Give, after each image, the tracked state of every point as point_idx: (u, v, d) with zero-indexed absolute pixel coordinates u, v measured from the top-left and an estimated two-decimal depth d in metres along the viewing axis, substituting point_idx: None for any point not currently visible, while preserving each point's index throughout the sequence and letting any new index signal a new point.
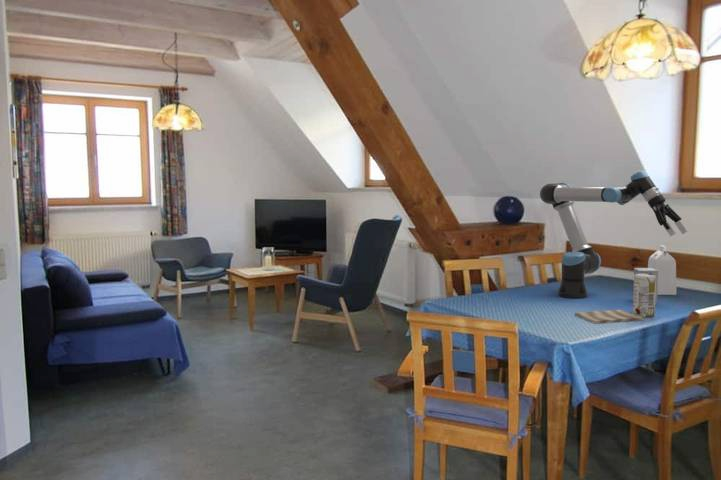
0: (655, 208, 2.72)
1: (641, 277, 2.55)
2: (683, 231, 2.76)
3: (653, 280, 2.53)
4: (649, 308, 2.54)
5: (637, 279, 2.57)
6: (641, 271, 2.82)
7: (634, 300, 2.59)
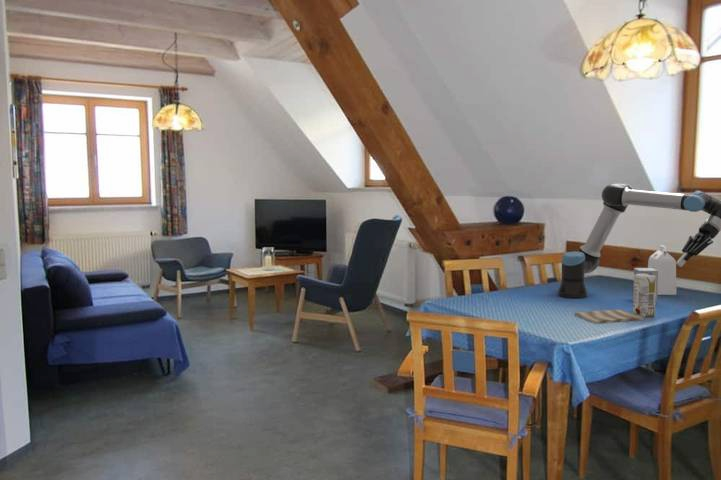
0: (709, 242, 2.54)
1: (641, 277, 2.55)
2: None
3: (653, 280, 2.53)
4: (649, 308, 2.54)
5: (637, 279, 2.57)
6: (641, 271, 2.82)
7: (634, 300, 2.59)
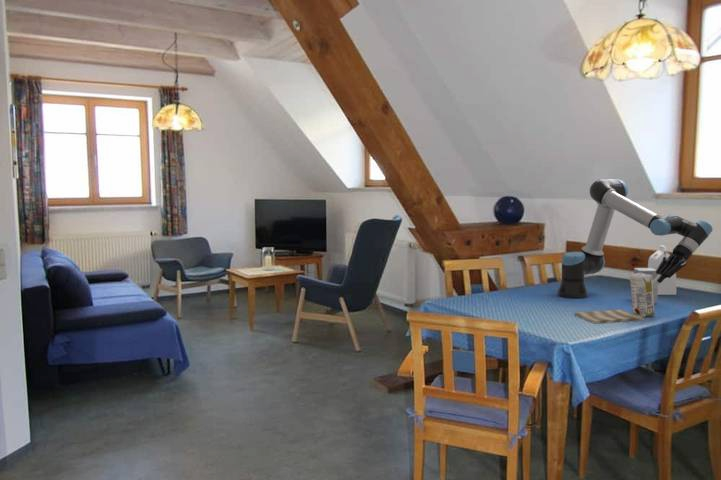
0: (683, 264, 2.52)
1: (637, 278, 2.54)
2: (653, 285, 2.57)
3: (649, 279, 2.53)
4: (648, 308, 2.54)
5: (633, 280, 2.56)
6: (641, 271, 2.82)
7: (632, 300, 2.58)
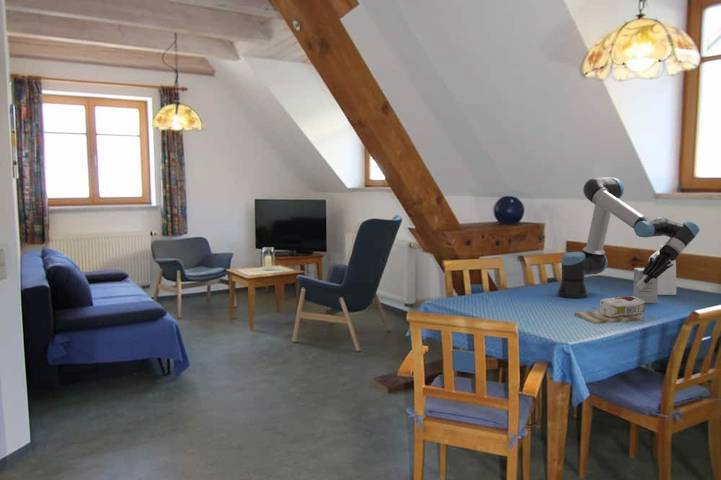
0: (669, 265, 2.52)
1: (607, 315, 2.51)
2: None
3: (614, 308, 2.48)
4: (638, 309, 2.52)
5: None
6: (641, 271, 2.82)
7: None
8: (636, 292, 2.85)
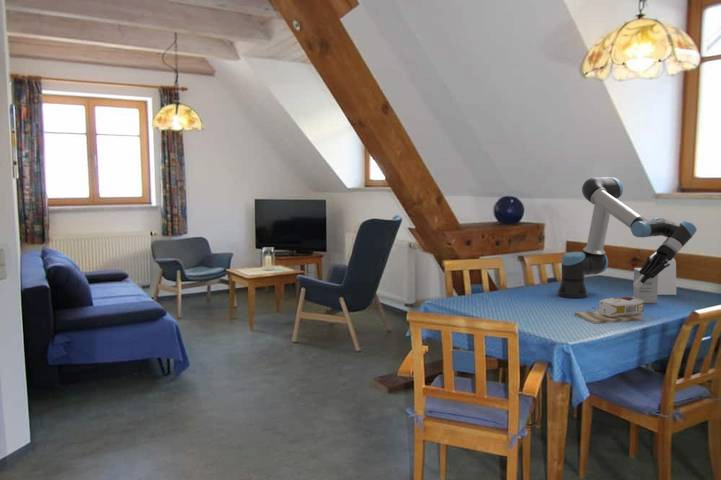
0: (666, 265, 2.51)
1: (607, 315, 2.51)
2: None
3: (613, 308, 2.49)
4: (638, 309, 2.52)
5: None
6: None
7: None
8: (636, 292, 2.85)
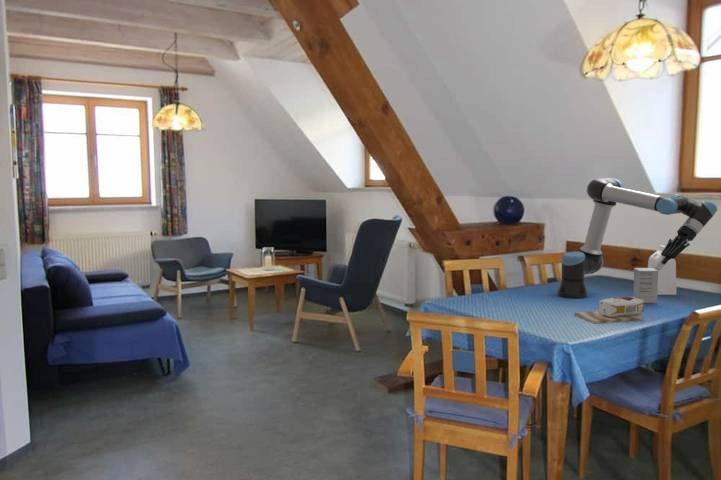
0: (686, 245, 2.54)
1: (607, 315, 2.51)
2: None
3: (613, 308, 2.49)
4: (638, 309, 2.52)
5: None
6: (641, 271, 2.82)
7: None
8: (636, 292, 2.85)
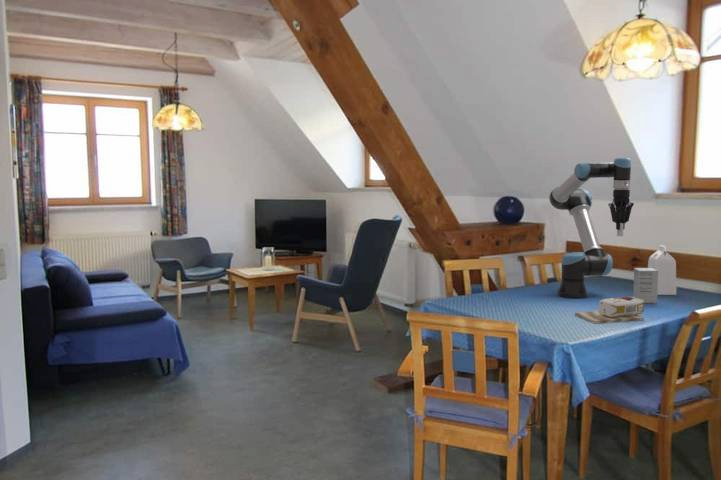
0: (610, 206, 2.78)
1: (607, 315, 2.51)
2: None
3: (613, 308, 2.49)
4: (638, 309, 2.52)
5: None
6: (641, 271, 2.82)
7: None
8: (636, 292, 2.85)
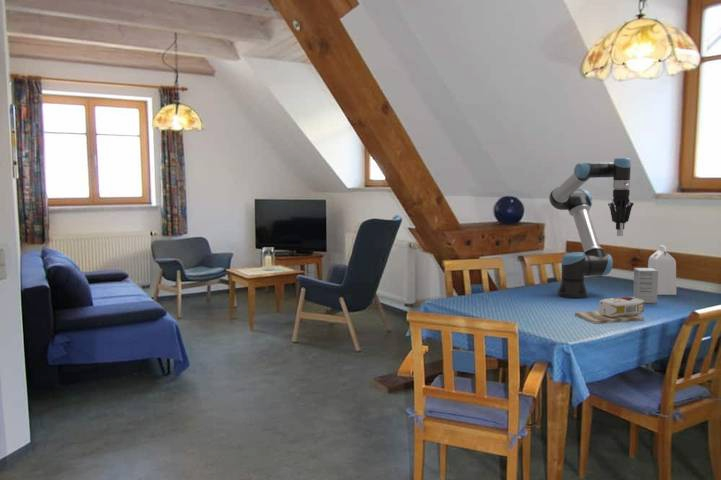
0: (610, 206, 2.78)
1: (607, 315, 2.51)
2: None
3: (613, 308, 2.49)
4: (638, 309, 2.52)
5: None
6: (641, 271, 2.82)
7: None
8: (636, 292, 2.85)
